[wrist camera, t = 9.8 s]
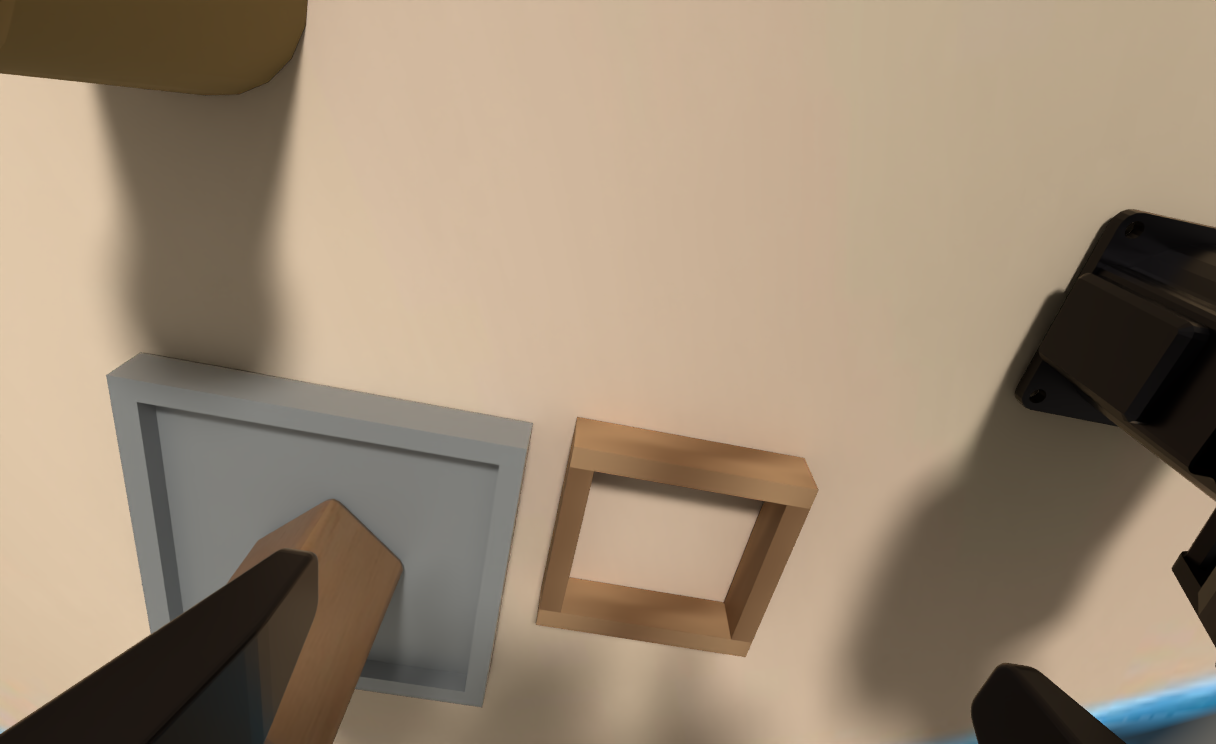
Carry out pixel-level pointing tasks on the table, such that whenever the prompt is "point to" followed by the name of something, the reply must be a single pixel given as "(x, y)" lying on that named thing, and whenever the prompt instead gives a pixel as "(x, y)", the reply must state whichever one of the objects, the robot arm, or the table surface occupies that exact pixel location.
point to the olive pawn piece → (152, 42)
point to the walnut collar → (692, 467)
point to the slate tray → (312, 473)
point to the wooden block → (330, 617)
